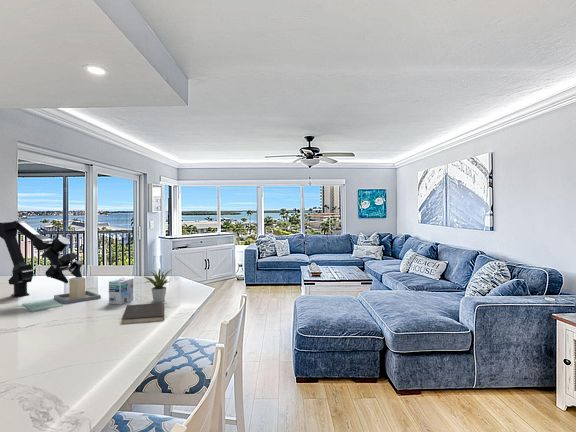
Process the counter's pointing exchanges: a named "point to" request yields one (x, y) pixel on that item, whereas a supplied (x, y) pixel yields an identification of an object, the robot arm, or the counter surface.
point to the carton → (76, 287)
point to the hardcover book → (143, 313)
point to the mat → (41, 305)
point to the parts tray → (88, 296)
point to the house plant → (158, 286)
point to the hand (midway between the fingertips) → (74, 281)
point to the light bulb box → (121, 290)
